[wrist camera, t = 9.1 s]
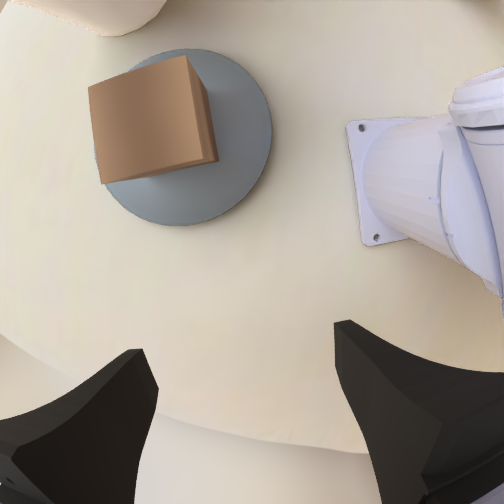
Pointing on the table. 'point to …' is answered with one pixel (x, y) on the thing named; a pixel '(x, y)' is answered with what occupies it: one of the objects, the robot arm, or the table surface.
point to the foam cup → (101, 13)
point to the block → (151, 122)
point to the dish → (228, 146)
